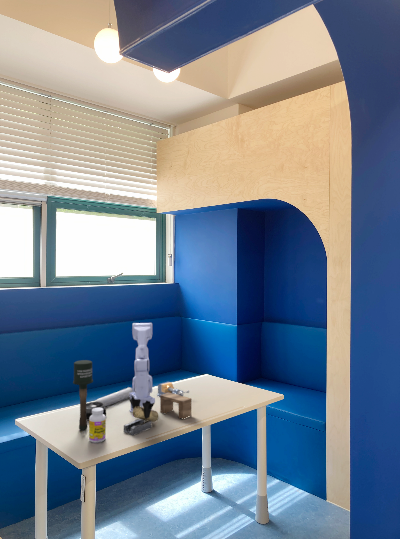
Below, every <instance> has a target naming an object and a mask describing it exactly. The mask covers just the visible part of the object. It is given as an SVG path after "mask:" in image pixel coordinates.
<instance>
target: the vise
mask: <svg viewBox="0 0 400 539" xmlns="http://www.w3.org/2000/svg"><path fill="white" fill-rule="evenodd" d="M166 393H173V394H177V395H180V396H184V394H189V393H190V390H188V389H187V390H186V391H184V390H182V389H177V388H175V387H174V385H173V383H172V382H170V381H166V382H162V383H159V384H158V386H157V393H156V397H158V396H159V397H160V395H163V394H166Z"/></svg>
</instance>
